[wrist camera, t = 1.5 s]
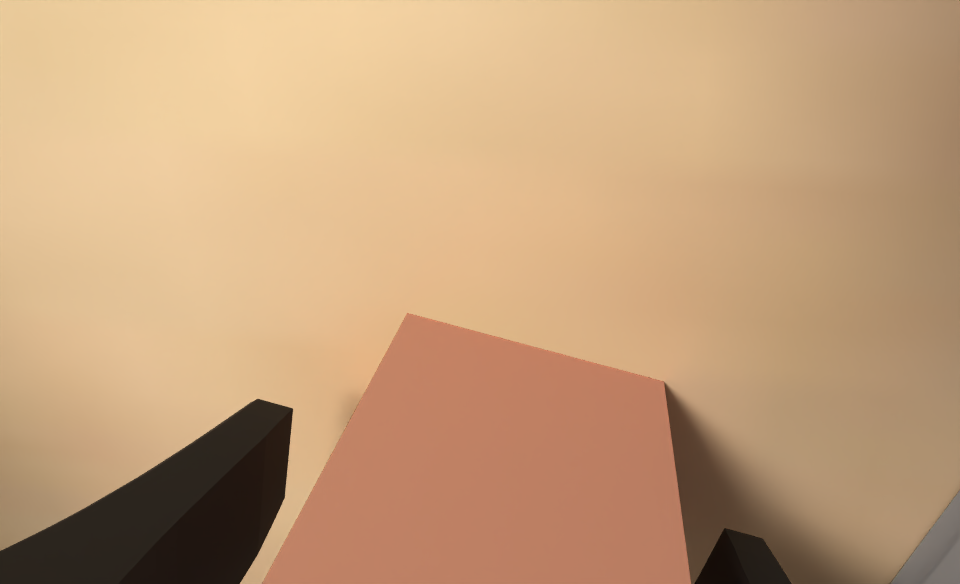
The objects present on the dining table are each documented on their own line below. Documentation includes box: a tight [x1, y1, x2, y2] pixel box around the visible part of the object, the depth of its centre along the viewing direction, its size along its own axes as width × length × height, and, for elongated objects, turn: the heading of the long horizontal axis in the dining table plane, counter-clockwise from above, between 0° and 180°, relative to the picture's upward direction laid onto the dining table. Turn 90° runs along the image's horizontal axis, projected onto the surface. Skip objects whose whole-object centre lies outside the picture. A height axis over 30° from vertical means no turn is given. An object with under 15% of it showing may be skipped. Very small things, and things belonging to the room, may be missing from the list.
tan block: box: [262, 313, 691, 584], centre depth 10 cm, size 4×4×6 cm
